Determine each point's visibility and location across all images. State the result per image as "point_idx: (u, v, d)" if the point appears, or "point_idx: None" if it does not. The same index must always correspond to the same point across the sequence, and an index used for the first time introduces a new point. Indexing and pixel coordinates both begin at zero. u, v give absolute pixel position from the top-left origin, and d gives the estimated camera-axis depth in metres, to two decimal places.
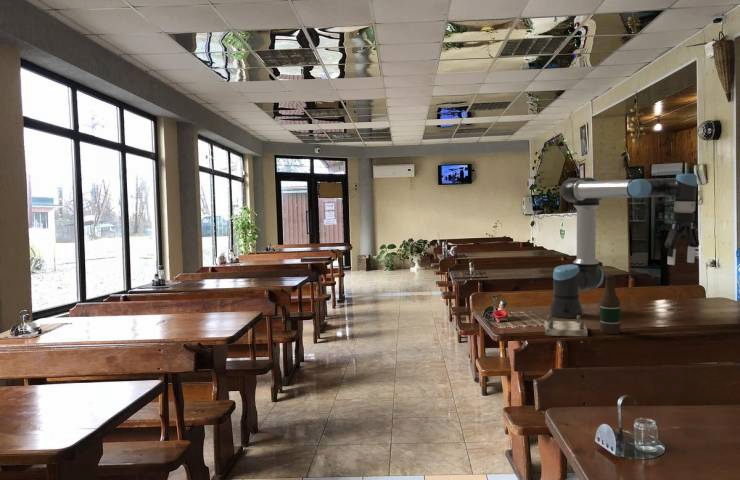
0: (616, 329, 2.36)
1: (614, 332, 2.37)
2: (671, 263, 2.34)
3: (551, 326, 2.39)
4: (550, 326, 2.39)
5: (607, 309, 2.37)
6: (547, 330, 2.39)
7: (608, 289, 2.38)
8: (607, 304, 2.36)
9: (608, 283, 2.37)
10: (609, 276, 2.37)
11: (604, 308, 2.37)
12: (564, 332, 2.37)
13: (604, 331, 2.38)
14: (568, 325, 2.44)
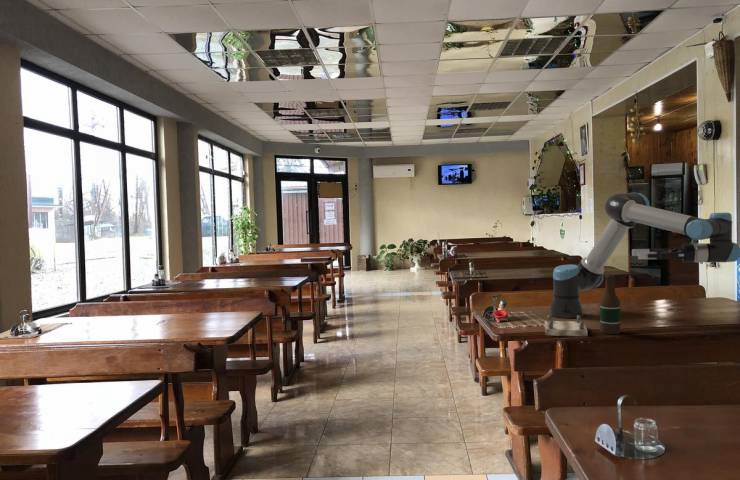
0: (616, 329, 2.36)
1: (614, 332, 2.37)
2: (640, 257, 2.28)
3: (551, 326, 2.39)
4: (550, 326, 2.39)
5: (607, 309, 2.37)
6: (547, 330, 2.39)
7: (608, 289, 2.38)
8: (607, 304, 2.36)
9: (608, 283, 2.37)
10: (609, 276, 2.37)
11: (604, 308, 2.37)
12: (564, 332, 2.37)
13: (604, 331, 2.38)
14: (568, 325, 2.44)
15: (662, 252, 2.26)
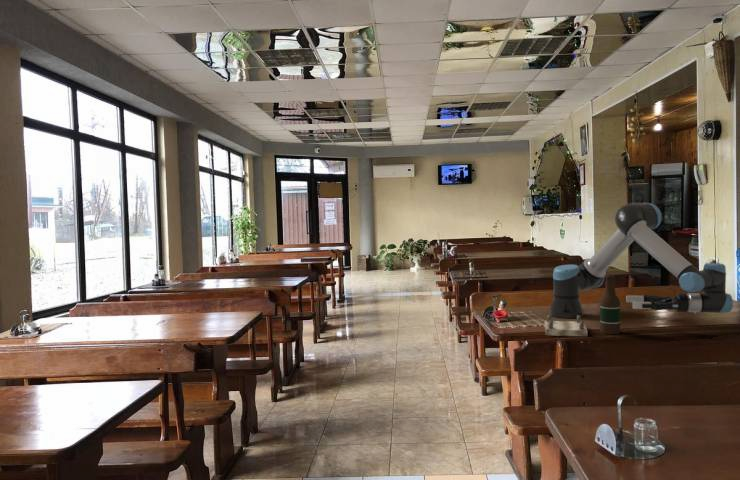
0: (616, 329, 2.36)
1: (614, 332, 2.37)
2: (634, 306, 2.30)
3: (551, 326, 2.39)
4: (550, 326, 2.39)
5: (607, 309, 2.37)
6: (547, 330, 2.39)
7: (608, 289, 2.38)
8: (607, 304, 2.36)
9: (608, 283, 2.37)
10: (609, 276, 2.37)
11: (604, 308, 2.37)
12: (564, 332, 2.37)
13: (604, 331, 2.38)
14: (568, 325, 2.44)
15: (656, 302, 2.28)
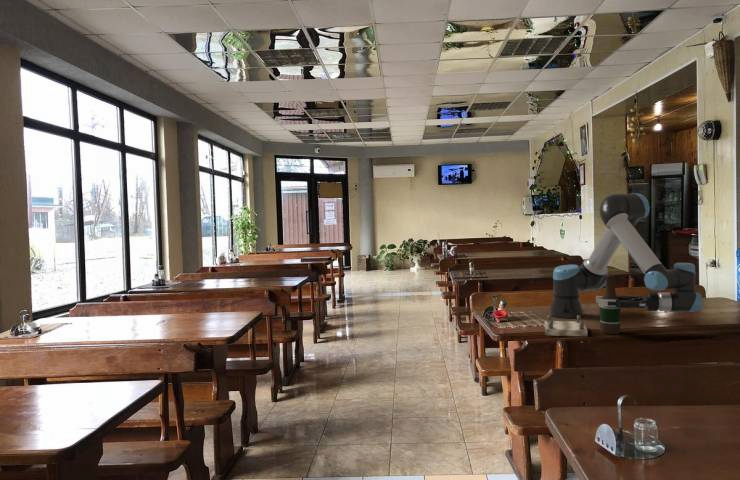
0: (616, 329, 2.36)
1: (614, 332, 2.37)
2: (600, 304, 2.36)
3: (551, 326, 2.39)
4: (550, 326, 2.39)
5: (607, 309, 2.37)
6: (547, 330, 2.39)
7: (608, 289, 2.38)
8: None
9: (608, 283, 2.37)
10: (609, 276, 2.37)
11: (604, 308, 2.37)
12: (564, 332, 2.37)
13: (604, 331, 2.38)
14: (568, 325, 2.44)
15: (622, 300, 2.33)
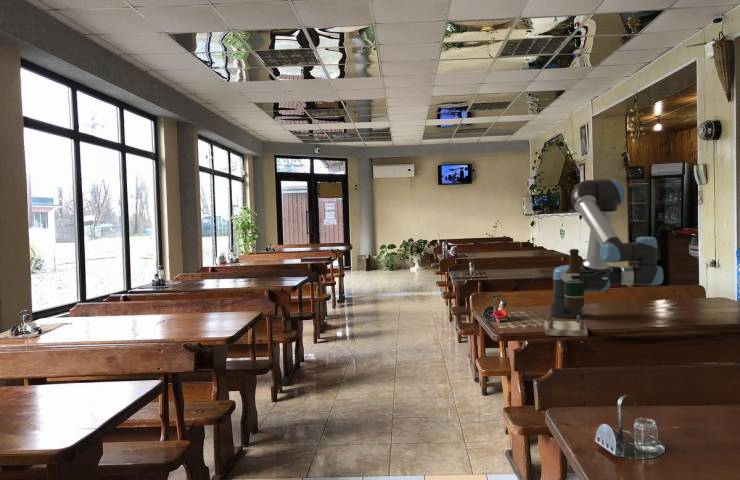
0: (580, 303, 2.38)
1: (578, 306, 2.38)
2: (564, 278, 2.38)
3: (551, 326, 2.39)
4: (550, 326, 2.39)
5: (571, 283, 2.38)
6: (547, 330, 2.39)
7: (572, 263, 2.39)
8: None
9: (572, 257, 2.39)
10: (573, 250, 2.39)
11: (568, 282, 2.39)
12: (564, 332, 2.37)
13: (568, 305, 2.40)
14: (568, 325, 2.44)
15: (585, 274, 2.35)
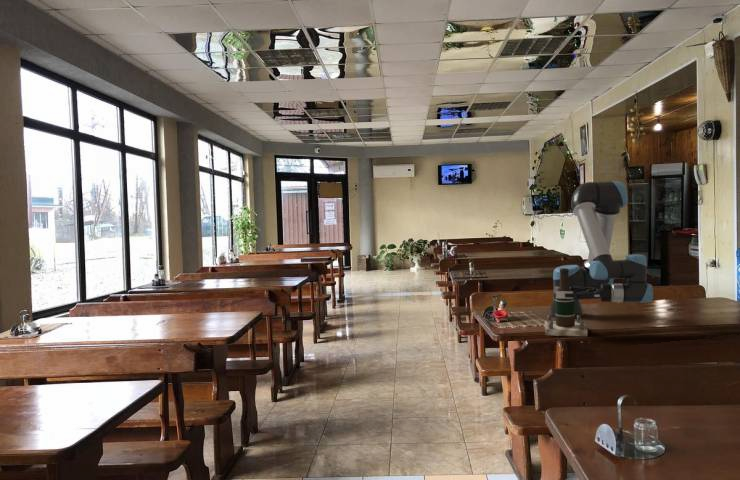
0: (570, 322, 2.41)
1: (568, 325, 2.41)
2: (557, 296, 2.38)
3: (551, 326, 2.39)
4: (550, 326, 2.39)
5: (561, 302, 2.41)
6: (547, 330, 2.39)
7: (562, 282, 2.42)
8: None
9: (562, 277, 2.42)
10: (563, 270, 2.41)
11: (558, 301, 2.42)
12: (564, 332, 2.37)
13: (559, 324, 2.42)
14: None
15: (578, 292, 2.36)
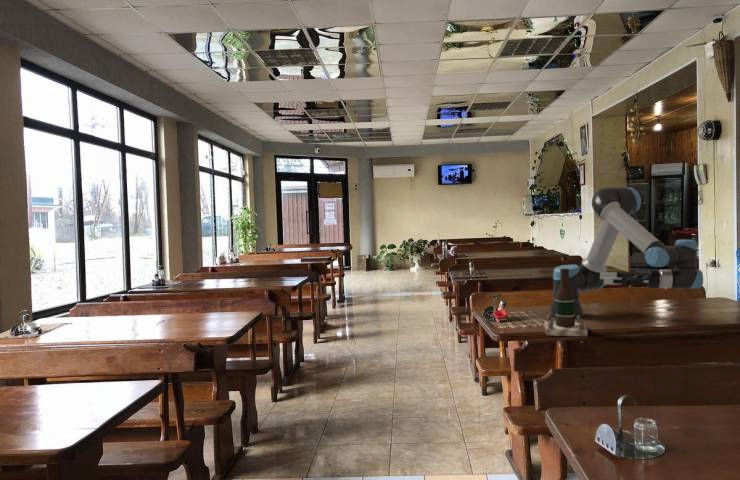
0: (571, 322, 2.41)
1: (568, 325, 2.41)
2: (605, 282, 2.32)
3: (551, 326, 2.39)
4: (550, 326, 2.39)
5: (561, 303, 2.41)
6: (547, 330, 2.39)
7: (562, 282, 2.42)
8: (562, 297, 2.41)
9: (562, 277, 2.42)
10: (563, 270, 2.41)
11: (558, 302, 2.42)
12: (564, 332, 2.37)
13: (559, 324, 2.42)
14: None
15: (627, 278, 2.30)
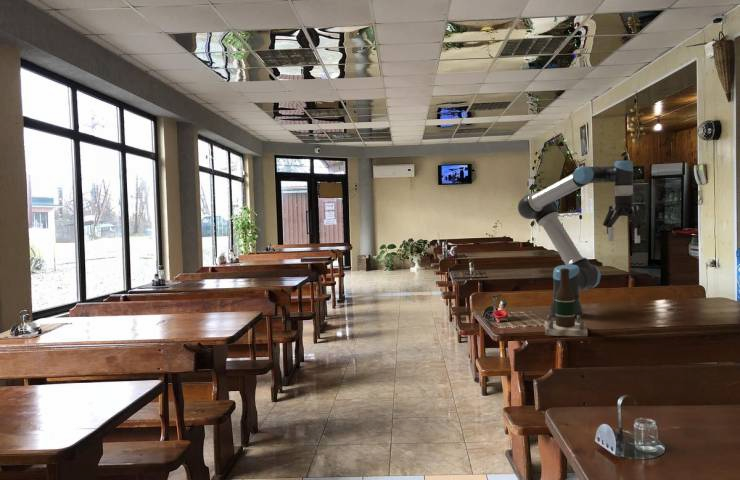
0: (571, 322, 2.41)
1: (568, 325, 2.41)
2: (638, 241, 2.58)
3: (551, 326, 2.39)
4: (550, 326, 2.39)
5: (561, 303, 2.41)
6: (547, 330, 2.39)
7: (562, 282, 2.42)
8: (562, 297, 2.41)
9: (562, 277, 2.42)
10: (563, 270, 2.41)
11: (558, 302, 2.42)
12: (564, 332, 2.37)
13: (559, 324, 2.42)
14: None
15: (636, 223, 2.56)
